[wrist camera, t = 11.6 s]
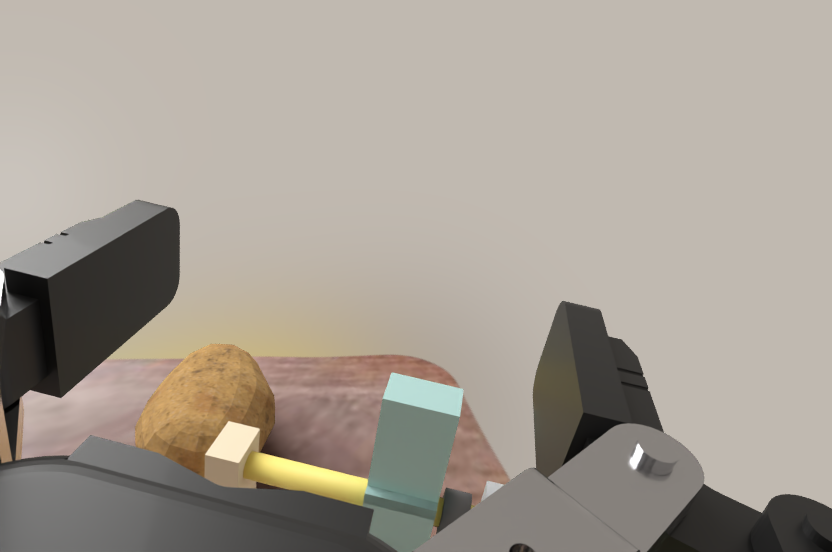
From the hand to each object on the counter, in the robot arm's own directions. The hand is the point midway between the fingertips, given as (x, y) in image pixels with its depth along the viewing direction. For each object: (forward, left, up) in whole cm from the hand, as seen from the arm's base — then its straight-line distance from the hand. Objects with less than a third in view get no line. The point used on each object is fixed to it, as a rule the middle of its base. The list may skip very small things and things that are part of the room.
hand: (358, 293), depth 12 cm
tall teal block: (+2, +15, -23) cm, 27 cm away
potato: (-14, +23, -30) cm, 40 cm away
